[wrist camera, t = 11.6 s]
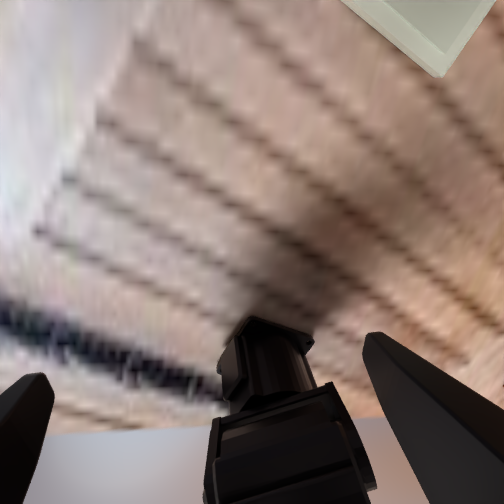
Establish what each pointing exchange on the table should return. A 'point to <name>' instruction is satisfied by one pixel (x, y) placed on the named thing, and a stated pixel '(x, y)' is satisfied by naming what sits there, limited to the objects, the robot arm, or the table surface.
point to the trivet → (425, 27)
